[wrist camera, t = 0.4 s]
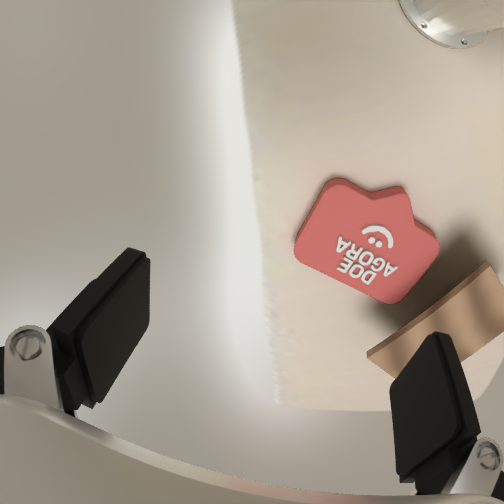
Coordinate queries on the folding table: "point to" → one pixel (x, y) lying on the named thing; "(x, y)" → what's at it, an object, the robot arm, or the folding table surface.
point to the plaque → (366, 240)
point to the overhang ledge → (450, 322)
